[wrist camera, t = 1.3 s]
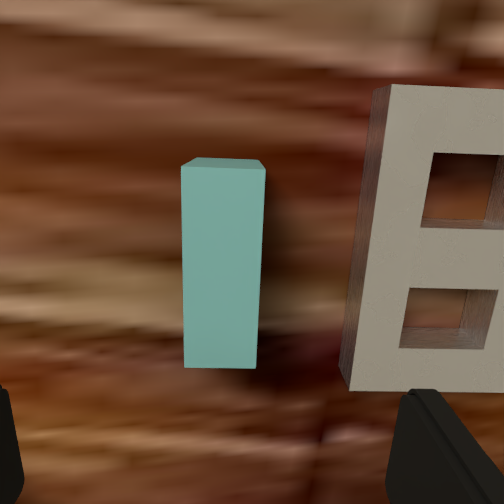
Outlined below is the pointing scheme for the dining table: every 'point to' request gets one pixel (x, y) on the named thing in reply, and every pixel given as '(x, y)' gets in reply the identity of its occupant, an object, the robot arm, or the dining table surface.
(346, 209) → the dining table surface
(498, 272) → the grey rectangular frame
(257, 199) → the teal notched block
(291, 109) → the dining table surface
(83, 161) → the dining table surface
